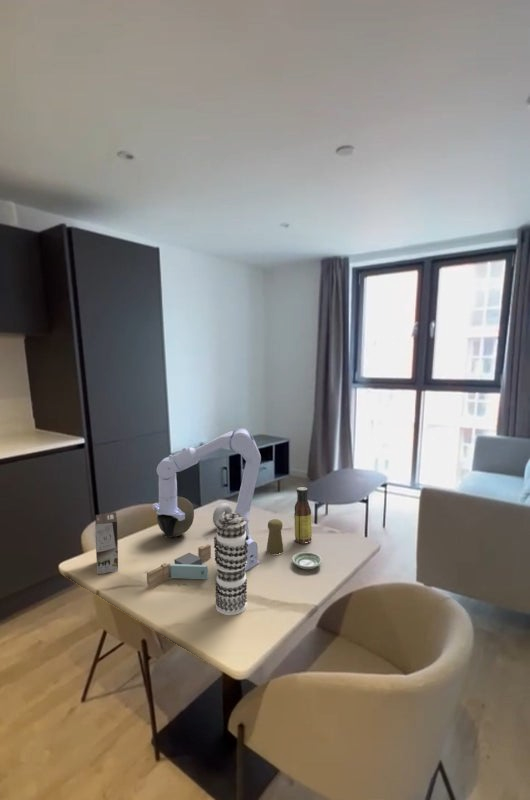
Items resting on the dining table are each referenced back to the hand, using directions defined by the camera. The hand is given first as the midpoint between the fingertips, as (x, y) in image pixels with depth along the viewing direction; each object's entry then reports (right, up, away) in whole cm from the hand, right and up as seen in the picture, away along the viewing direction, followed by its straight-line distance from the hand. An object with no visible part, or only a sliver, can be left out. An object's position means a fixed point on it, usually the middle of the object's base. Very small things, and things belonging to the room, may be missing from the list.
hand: (168, 536), depth 125 cm
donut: (+15, -7, +29) cm, 34 cm away
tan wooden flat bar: (+6, -10, -3) cm, 12 cm away
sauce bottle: (+45, -8, +18) cm, 50 cm away
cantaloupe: (-2, -8, +21) cm, 23 cm away
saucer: (+45, -10, 0) cm, 46 cm away
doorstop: (+7, -10, -3) cm, 13 cm away
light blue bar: (+8, -10, -8) cm, 15 cm away
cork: (+35, -9, +10) cm, 37 cm away
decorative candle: (+22, -12, -21) cm, 33 cm away
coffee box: (-20, -10, -1) cm, 22 cm away
